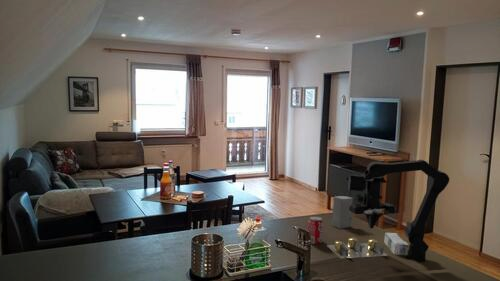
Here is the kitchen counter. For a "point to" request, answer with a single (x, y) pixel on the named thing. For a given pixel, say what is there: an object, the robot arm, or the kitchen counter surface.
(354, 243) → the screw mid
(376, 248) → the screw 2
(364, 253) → the base plate
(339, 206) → the skincare box
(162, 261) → the kitchen counter surface
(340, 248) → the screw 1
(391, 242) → the syrup box
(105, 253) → the kitchen counter surface
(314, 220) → the soda can
